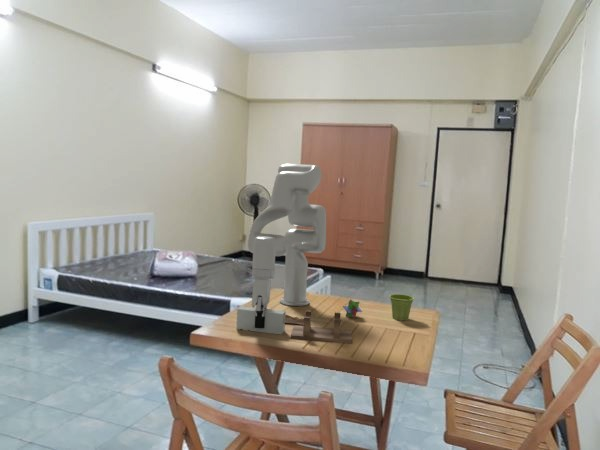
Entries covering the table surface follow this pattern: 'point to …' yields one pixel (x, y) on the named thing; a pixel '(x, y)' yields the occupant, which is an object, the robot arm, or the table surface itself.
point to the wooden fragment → (293, 320)
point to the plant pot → (401, 306)
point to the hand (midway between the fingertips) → (260, 325)
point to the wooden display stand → (321, 331)
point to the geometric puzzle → (352, 309)
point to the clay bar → (272, 320)
